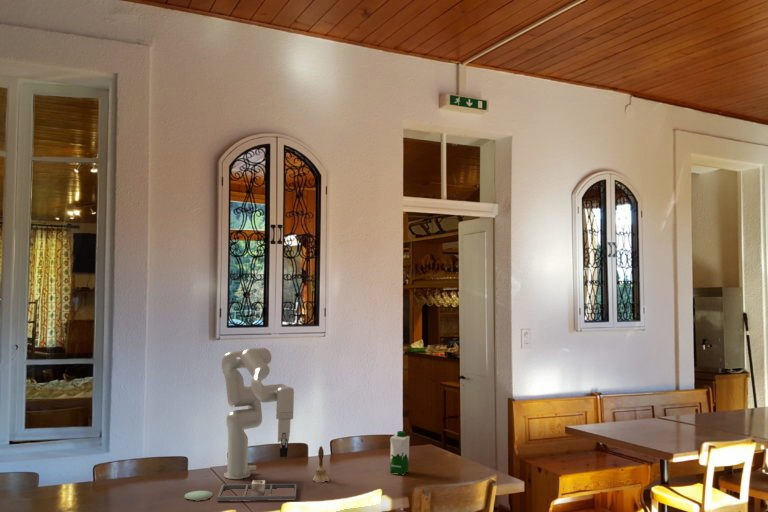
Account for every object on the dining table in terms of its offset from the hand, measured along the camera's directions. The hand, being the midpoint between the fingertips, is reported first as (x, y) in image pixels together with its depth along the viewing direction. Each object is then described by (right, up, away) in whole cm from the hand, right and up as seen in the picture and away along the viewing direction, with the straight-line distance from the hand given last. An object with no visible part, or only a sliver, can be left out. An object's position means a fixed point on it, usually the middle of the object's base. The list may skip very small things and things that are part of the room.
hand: (283, 453), depth 309 cm
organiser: (-11, -18, -2) cm, 21 cm away
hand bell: (+14, -20, +24) cm, 34 cm away
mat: (-37, -17, -5) cm, 41 cm away
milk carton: (+52, -21, +39) cm, 68 cm away
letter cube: (-11, -18, -2) cm, 21 cm away
